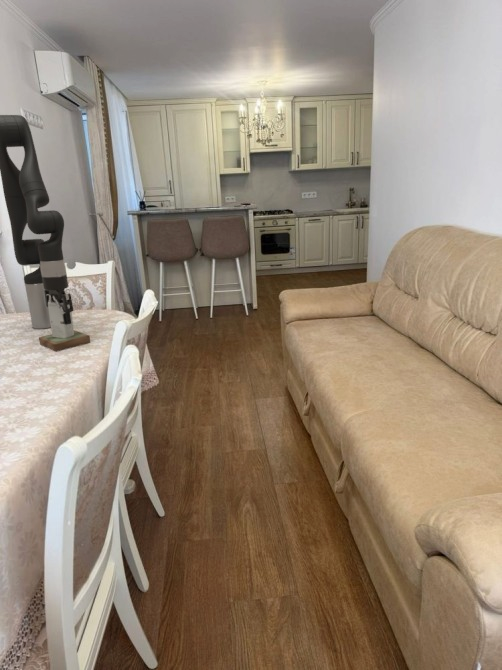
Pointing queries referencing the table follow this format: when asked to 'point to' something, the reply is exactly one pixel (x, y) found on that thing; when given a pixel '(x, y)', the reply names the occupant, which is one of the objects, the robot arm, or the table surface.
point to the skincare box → (59, 322)
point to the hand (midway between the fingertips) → (61, 322)
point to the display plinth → (64, 341)
